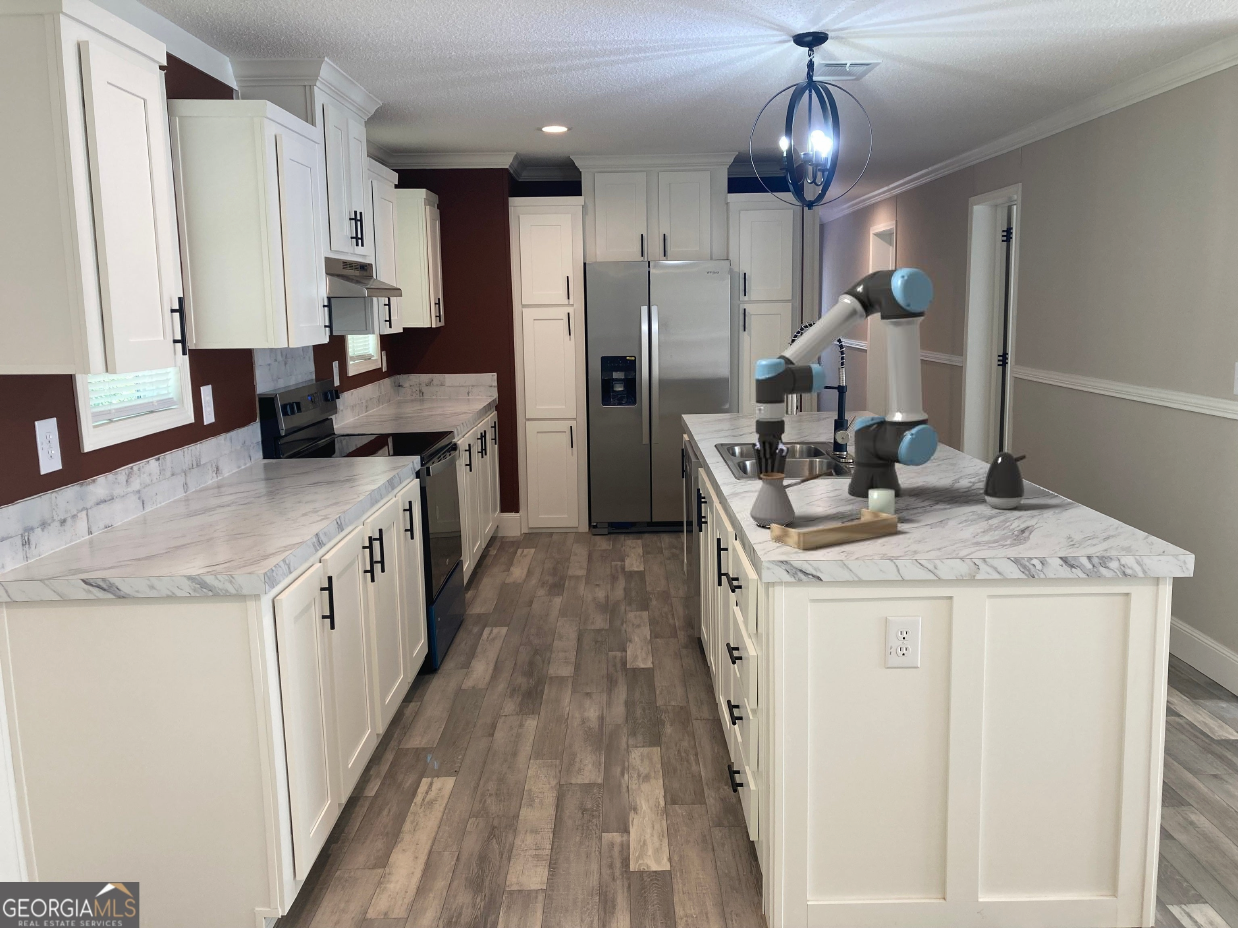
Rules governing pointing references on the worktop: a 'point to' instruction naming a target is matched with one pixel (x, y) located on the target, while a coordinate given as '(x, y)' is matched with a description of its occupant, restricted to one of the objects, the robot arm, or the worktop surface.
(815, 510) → the worktop surface
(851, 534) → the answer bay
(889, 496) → the green jar
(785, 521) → the coffee pot
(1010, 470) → the pump dispenser
